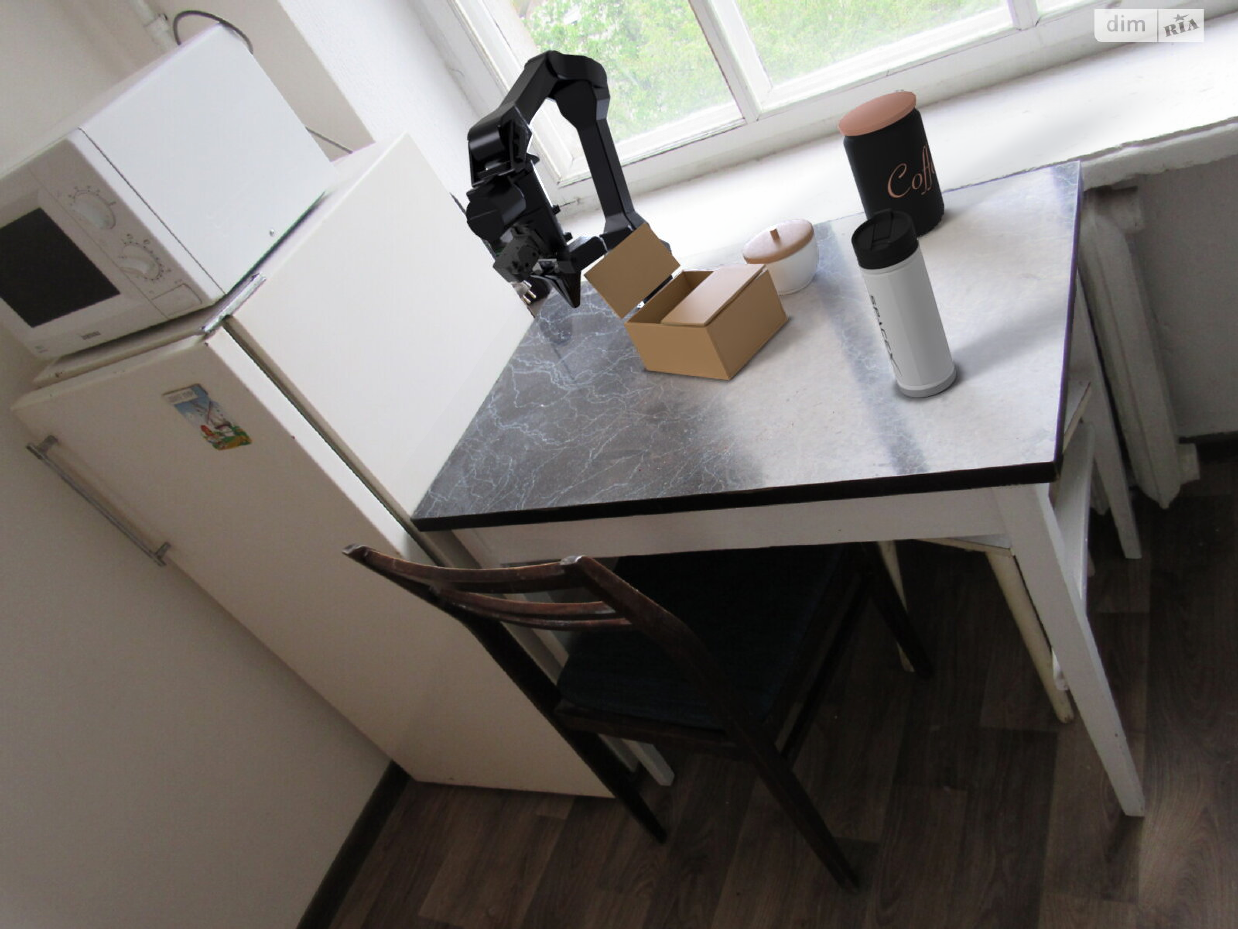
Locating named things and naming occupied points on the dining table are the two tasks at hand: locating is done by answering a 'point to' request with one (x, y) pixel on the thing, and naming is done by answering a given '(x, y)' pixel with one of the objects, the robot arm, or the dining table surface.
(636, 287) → the flap
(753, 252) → the trinket box
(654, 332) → the carton
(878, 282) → the travel mug
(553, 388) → the dining table surface
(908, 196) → the coffee jar
